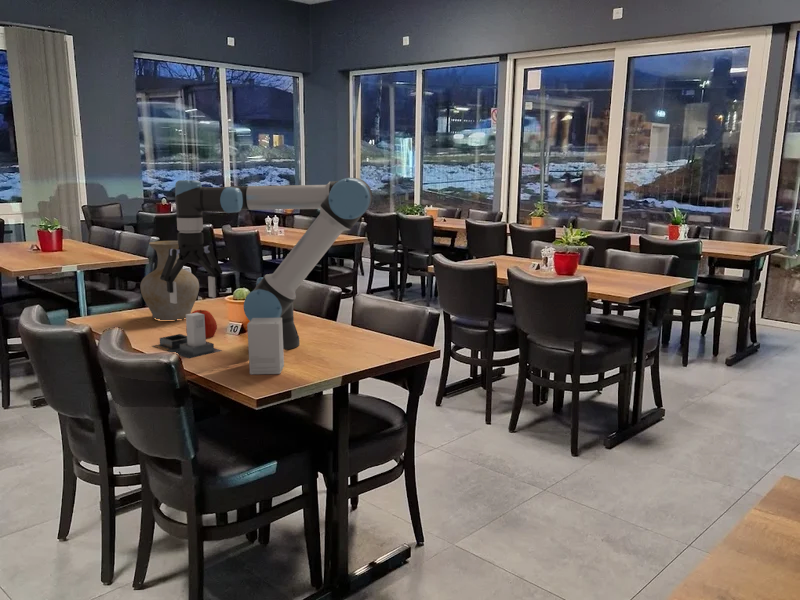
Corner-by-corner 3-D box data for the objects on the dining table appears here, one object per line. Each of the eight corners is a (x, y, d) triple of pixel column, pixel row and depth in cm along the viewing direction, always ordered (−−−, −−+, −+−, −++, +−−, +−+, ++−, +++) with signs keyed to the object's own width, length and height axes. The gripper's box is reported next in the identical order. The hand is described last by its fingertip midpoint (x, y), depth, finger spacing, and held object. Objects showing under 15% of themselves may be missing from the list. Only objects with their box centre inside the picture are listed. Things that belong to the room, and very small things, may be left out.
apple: (223, 337, 233) (221, 308, 231) (203, 344, 224) (201, 313, 222) (200, 334, 237) (198, 305, 235) (179, 340, 228) (177, 311, 226)
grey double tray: (222, 354, 211) (222, 343, 210) (189, 362, 202) (188, 350, 202) (184, 342, 225) (183, 332, 225) (151, 349, 216) (150, 338, 216)
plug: (207, 351, 209) (205, 314, 207) (196, 354, 206) (194, 316, 204) (199, 349, 212) (197, 312, 210) (187, 351, 209) (185, 314, 207)
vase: (187, 310, 279) (183, 238, 273) (209, 318, 262) (205, 242, 256) (134, 316, 265) (129, 241, 259) (154, 326, 248) (148, 246, 243)
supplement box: (284, 365, 199) (283, 316, 196) (280, 374, 190) (279, 323, 188) (254, 365, 199) (252, 317, 196) (248, 374, 190) (246, 323, 187)
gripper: (218, 228, 214) (220, 293, 218) (145, 233, 196) (149, 303, 200) (231, 230, 209) (234, 296, 213) (159, 234, 191) (163, 307, 195)
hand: (193, 300), depth 207 cm, fingers open, 13 cm apart
